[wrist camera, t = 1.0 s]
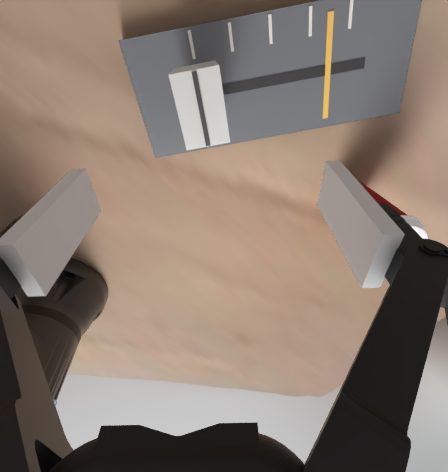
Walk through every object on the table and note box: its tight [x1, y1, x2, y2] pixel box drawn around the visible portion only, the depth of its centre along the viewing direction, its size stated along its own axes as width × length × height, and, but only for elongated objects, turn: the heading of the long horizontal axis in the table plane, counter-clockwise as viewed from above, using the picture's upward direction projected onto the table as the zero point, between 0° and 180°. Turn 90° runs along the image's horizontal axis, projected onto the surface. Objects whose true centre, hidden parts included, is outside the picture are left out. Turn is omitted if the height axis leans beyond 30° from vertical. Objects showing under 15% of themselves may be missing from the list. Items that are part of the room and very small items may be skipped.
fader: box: [169, 61, 230, 150], centre depth 26 cm, size 4×6×9 cm, turn 9°
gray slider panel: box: [118, 0, 422, 158], centre depth 31 cm, size 30×12×2 cm, turn 99°
